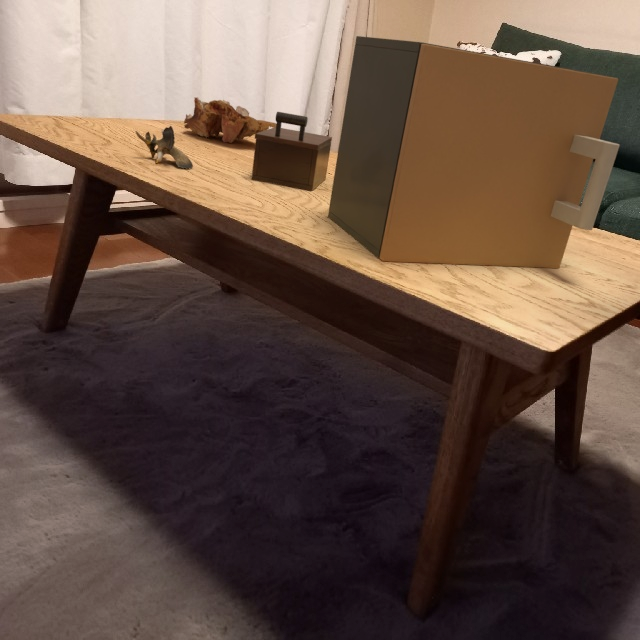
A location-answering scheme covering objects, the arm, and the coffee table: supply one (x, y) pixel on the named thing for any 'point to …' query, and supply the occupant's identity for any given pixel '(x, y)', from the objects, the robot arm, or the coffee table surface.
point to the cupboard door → (497, 161)
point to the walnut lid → (293, 133)
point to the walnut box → (290, 164)
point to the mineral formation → (223, 121)
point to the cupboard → (374, 135)
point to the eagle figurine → (166, 147)
